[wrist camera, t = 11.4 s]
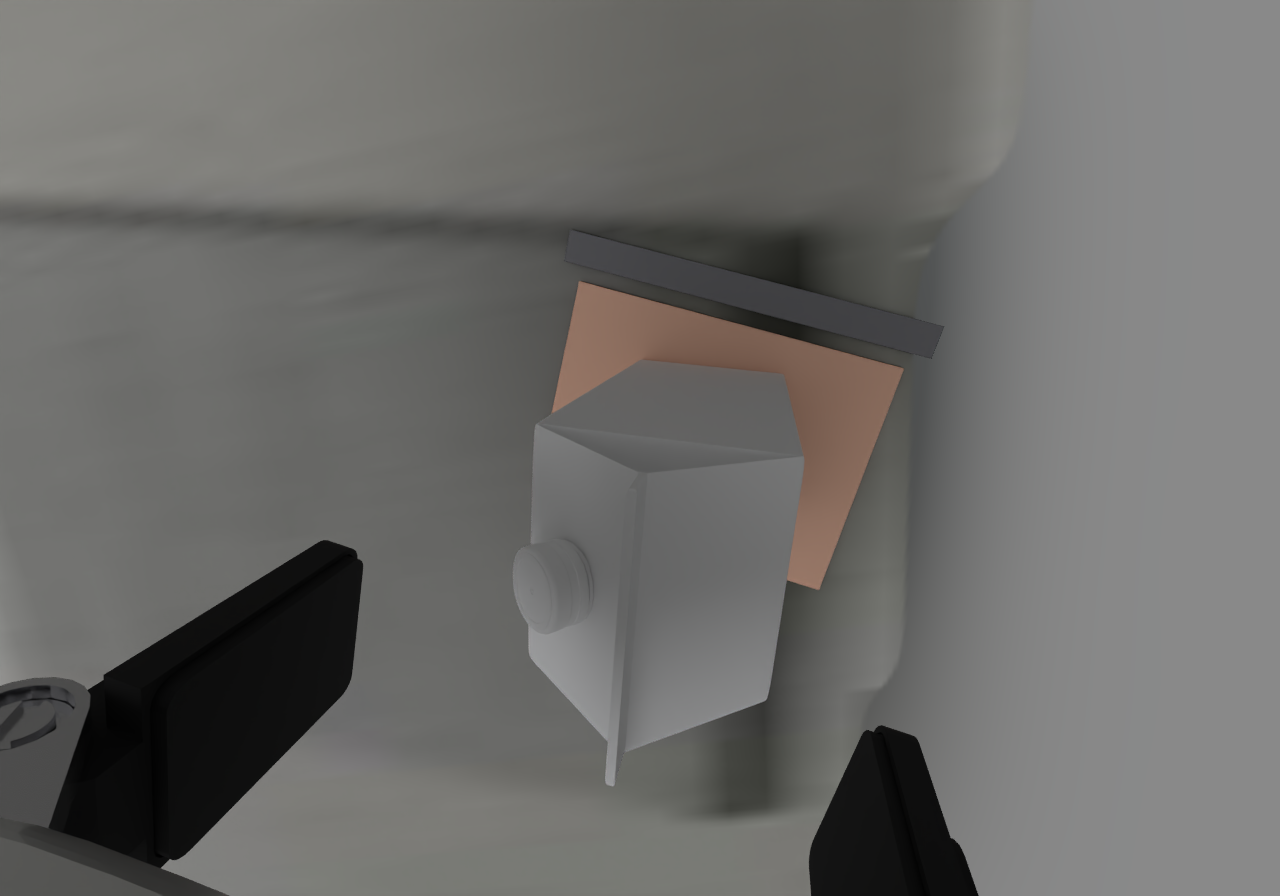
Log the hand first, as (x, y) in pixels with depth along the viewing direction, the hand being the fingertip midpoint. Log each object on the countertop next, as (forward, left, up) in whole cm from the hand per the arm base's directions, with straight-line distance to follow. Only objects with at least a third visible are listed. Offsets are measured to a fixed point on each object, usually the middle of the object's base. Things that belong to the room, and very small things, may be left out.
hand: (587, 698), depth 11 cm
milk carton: (0, 0, -21) cm, 21 cm away
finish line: (-7, 0, -21) cm, 22 cm away
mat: (+1, 0, -21) cm, 21 cm away
